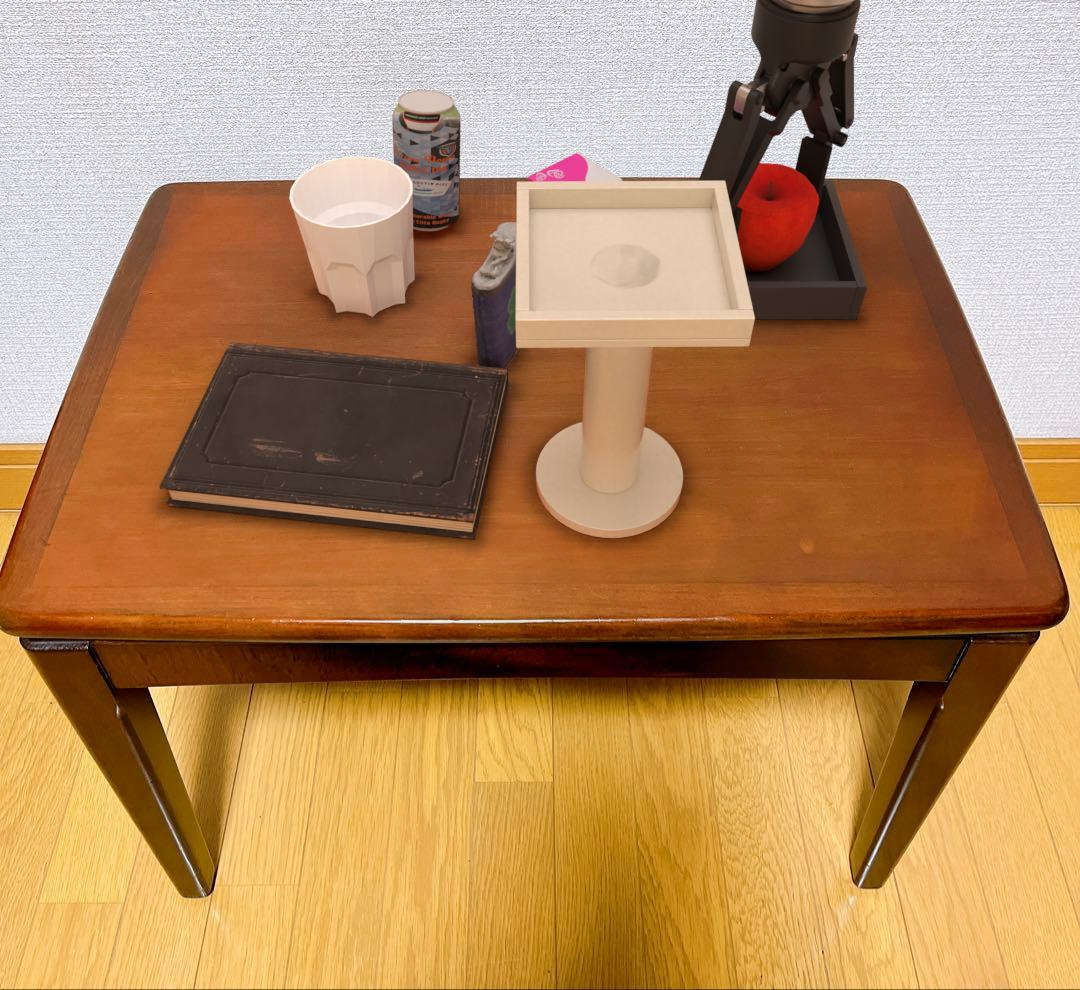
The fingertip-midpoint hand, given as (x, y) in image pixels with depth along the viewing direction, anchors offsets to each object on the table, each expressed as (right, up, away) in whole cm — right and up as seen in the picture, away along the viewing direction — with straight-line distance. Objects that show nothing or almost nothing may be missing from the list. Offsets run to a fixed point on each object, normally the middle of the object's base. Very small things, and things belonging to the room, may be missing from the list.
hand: (760, 236), depth 91 cm
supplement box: (-17, -5, 0) cm, 17 cm away
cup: (-35, -4, 0) cm, 36 cm away
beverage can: (-30, +3, +7) cm, 31 cm away
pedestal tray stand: (-15, -22, -14) cm, 30 cm away
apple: (0, -2, +2) cm, 3 cm away
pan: (0, -2, +2) cm, 3 cm away
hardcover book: (-35, -19, -12) cm, 41 cm away
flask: (-23, -10, -4) cm, 25 cm away
